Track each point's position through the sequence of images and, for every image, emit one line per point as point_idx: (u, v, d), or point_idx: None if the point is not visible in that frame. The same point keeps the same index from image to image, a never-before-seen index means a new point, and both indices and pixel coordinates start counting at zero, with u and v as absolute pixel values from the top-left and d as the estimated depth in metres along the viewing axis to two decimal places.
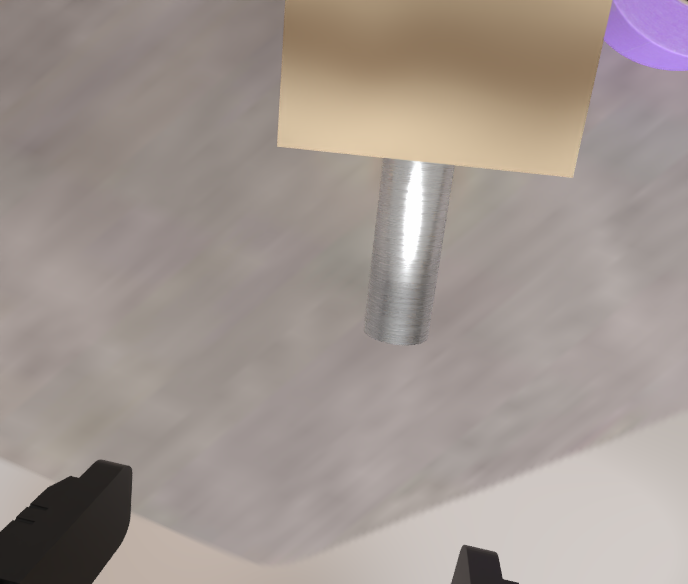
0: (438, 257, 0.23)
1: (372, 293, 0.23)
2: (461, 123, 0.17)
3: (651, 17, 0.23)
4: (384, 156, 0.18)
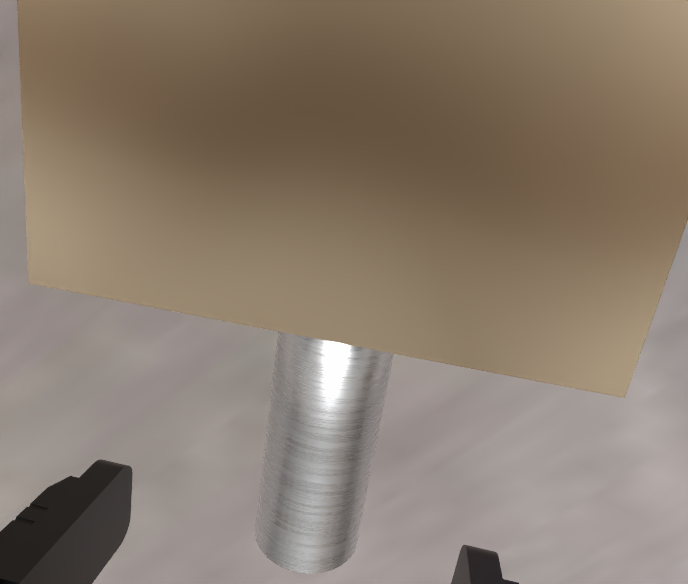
0: (373, 436, 0.13)
1: (264, 483, 0.14)
2: (395, 271, 0.08)
3: None
4: (237, 322, 0.09)
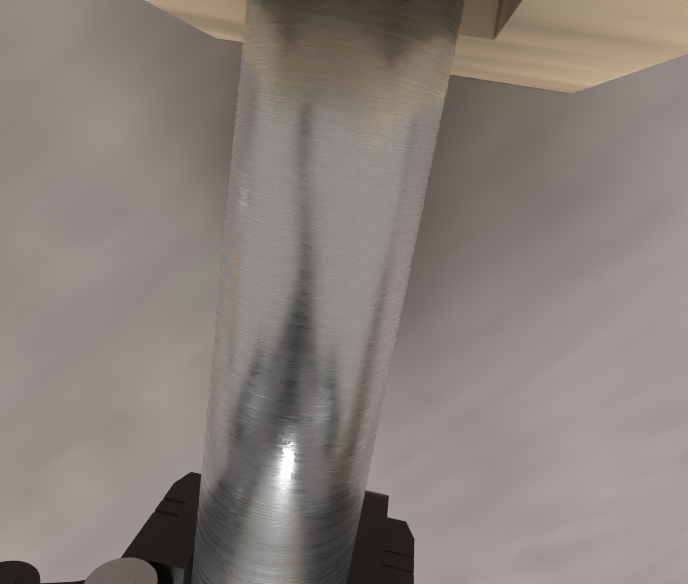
0: None
1: None
2: None
3: None
4: None
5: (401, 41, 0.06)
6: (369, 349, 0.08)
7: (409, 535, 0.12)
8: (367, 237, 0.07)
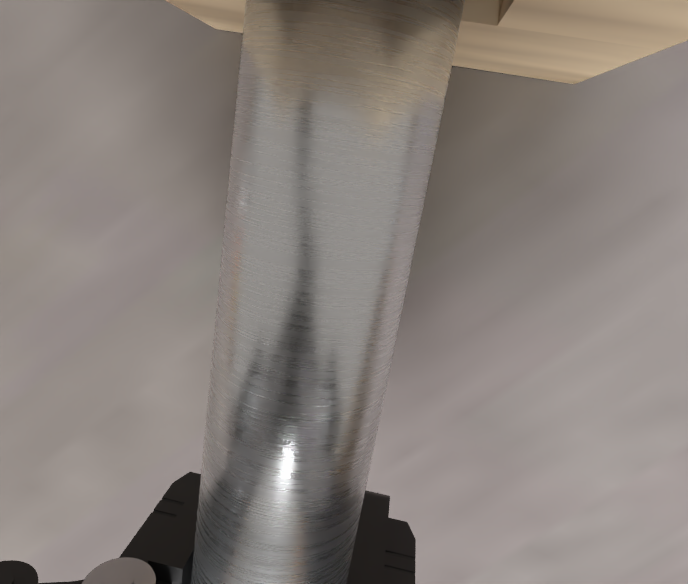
0: None
1: None
2: None
3: None
4: None
5: (401, 41, 0.06)
6: (369, 349, 0.08)
7: (410, 535, 0.12)
8: (367, 237, 0.07)
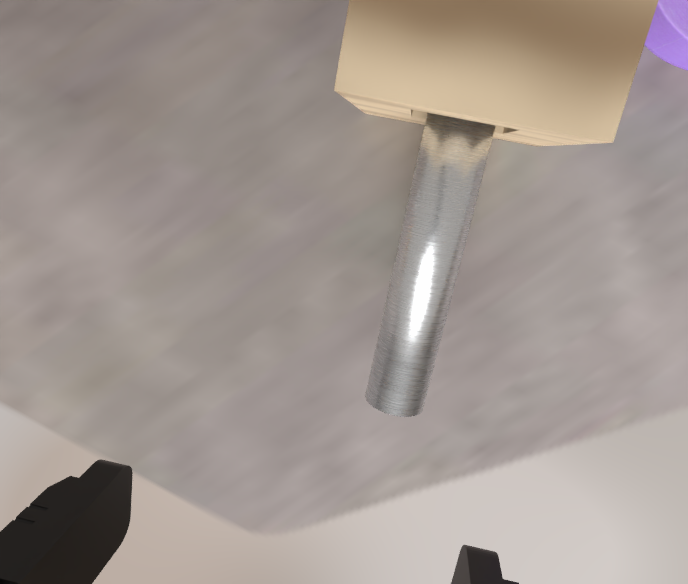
0: (439, 340, 0.25)
1: (376, 366, 0.26)
2: (512, 81, 0.18)
3: (687, 13, 0.24)
4: (436, 107, 0.19)
5: (475, 150, 0.22)
6: (458, 244, 0.23)
7: None
8: (461, 206, 0.23)
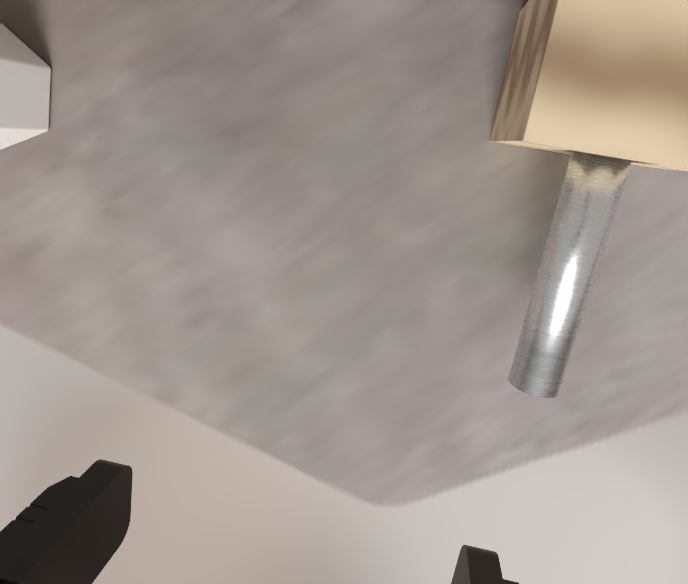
0: (576, 334, 0.30)
1: (523, 357, 0.31)
2: (669, 132, 0.23)
3: None
4: (606, 153, 0.24)
5: (618, 180, 0.27)
6: (599, 256, 0.29)
7: None
8: (604, 225, 0.28)
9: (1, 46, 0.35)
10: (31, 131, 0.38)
